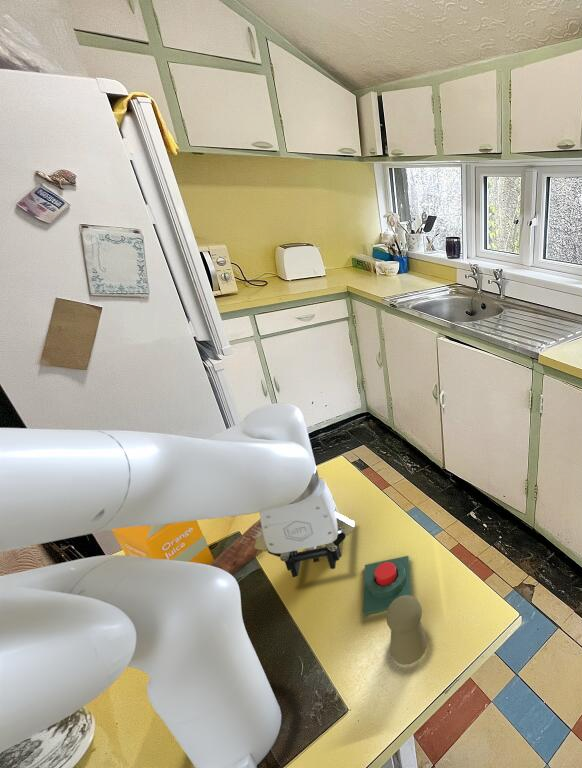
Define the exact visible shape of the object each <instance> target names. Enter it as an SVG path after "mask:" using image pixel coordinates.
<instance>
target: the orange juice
mask: <svg viewBox="0 0 582 768" xmlns="http://www.w3.org/2000/svg"><path fill="white" fill-rule="evenodd" d="M111 533H112V534H113V536H114V537H115V539H116V541H117V542H118V544H119V546H120V547H121V549H122V551H123V553H124V555H126V556H136V557H145V558H154V559H167V560H176V561H185V562H194V563H201V564H206V565H210V564H211V563H212V562H213V561H214V560H215V559H214V556H213V554H212V552H211V550H210V548H209V545H208V542H207V540H206V537H205V535H204V534H203V532H202V530H201V527H200V525H199V523H198V520H195V521H187V522H179V523H172V524H164V525H153V526H137V527H124V528H118V529H113V530H111Z"/></svg>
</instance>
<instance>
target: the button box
mask: <svg viewBox="0 0 582 768" xmlns="http://www.w3.org/2000/svg"><path fill="white" fill-rule="evenodd" d="M385 562H391V563H393V564H394V565H395V567H396V573H397V576H396V579H395V581H394V582H393V583H391V584H389V585H387V586H381V585H379V584H378V583H377V582H376V578H375V570H376V568H377V567H378V566H379V565H380V564H382V563H385ZM363 574H364V576H363V577H364V578H363V579H364V580H363V606H362V607H363V608H362V609H363V610H362V614H363V617H366V616H371V615H376V614H379V613H383V612H387V609H388V607H389V605H390V604H391V603H392V602H393V601H394V600H395V599H396V598H398V597H400V596H403V595H409V596H413V595H412V584H411V571H410V558H409V555H404V556H401V557H396V558H395V557H394V558H391V559H387V560H381V561H376V562H372V563H367V564H364V573H363Z"/></svg>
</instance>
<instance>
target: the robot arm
mask: <svg viewBox="0 0 582 768" xmlns="http://www.w3.org/2000/svg"><path fill="white" fill-rule="evenodd" d="M333 498H334V496H333V494H332V492H331V490H330V488H329V486H328V485H327V482H326V481H325V479H324V478H323V477H320V475H319V472H318V468H317V465H316V461H315V457H314V452H313V449H312V443H311V440H310V437H309V433H308V429H307V425H306V420H305V417H304V414H303V412H302V410H301V409H300V408H299V407H298V406H296V405H294V404H291V403H287V402H277V403H269V404H265V405H262V406H260V407H257V408H255V409H253V410H252V411H250V412H249V413H248V414H247V415H245V417H244V418H243V420H242V421H240V422H238V423H237V424H234V425H233V426H231V427H228V428H226V429H224V430H221V431H220V432H218V433H215V434H212V435H211V436H209V437H207V438H198V437H192V436H184V435H177V434H171V433H163V432H162V433H161V432H150V431H137V430H123V429H122V430H121V429H119V430H118V429H65V428H64V429H63V428H62V429H61V428H59V429H58V428H27V427H22V428H21V427H0V553H3V552H8V551H13V550H19V549H23V548H26V547H32V546H36V545H42V544H47V543H51V542H57V541H61V540H62V541H63V540H66V539H70V538H76V537H83V536H86V535H87V536H88V535H92V534H96V533H102V532H107V531H112V530H113V529H118V528H124V527H137V526H153V525H164V524H172V523H179V522H187V521H195V520H197V521H202V520H212V519H221V518H223V519H224V518H231V517H232V518H233V517H239V516H247V515H252V514H253V515H254V514H258V513H259V519H260V520H261V526H262V531H263V532H262V533H261V535H260V536H259V537H258V539H257V540H256V543H255V546H254V548H255V549H258V550H262V552H267V553H268V554H269V555H273V556H276V557H278V558H279V559H280V561H281V562H284V563H285V567H286V569H287V571H289V572H290V573H291V576H292V578H293V579H294V578H297V577H298V576H299V573H300V568H301V563H302V561H299V562H294V553H297V552H298V551H301V550H305V549H308V548H311V547H316V546H321V545H322V546H324V547H327V553H326V554H327V556H326V558H327V562H328V565H329V568H330V569H331V570H334V569H336V564H337V561H340V558H341V557H340V554H339V549H338V545H339V544H340V543H341V542H342V541H343V542H344V540H345V539H346V537H347V536H349V535H350V534H351V533H352V532H354V530H355V529H356V528H355V527H356V522H355V521H354V520H352V519H350V518H348V517H347V516H345V515H343V514H341V513H340V512H339V511H338V508H337V505H336V501H335V499H333ZM338 526H339V527H340V529H338ZM128 667H129V668H132V669H136V670H138V671H141V672H142V673H144V674H146V675H148V676H149V677H148V679H147V684H146V695H147V699H148V701H149V703H150V705H151V707H152V708H153V710H154V711H155V712H156V714H157V715H158V717H159V718H160V720H161V721H162V722H163V723H164V725H165V726H166V727H167V729H168V730H169V732H170V733H171V735H172V736H173V738H174V739H175V740H176V742H177V743H178V745H179V746H180V748H181V749H182V750H183V752H184V753H185V755H186V756H187V757H188V759H189V760H190V762H191V764H192V765H193V766H194V768H258V765H259V764H260V763H261V762H262V761H263V760H264V759H265V757H266V756H267V755H268V753H270V750H272V748H273V746H274V744H275V742H276V740H277V738H278V736H279V733H280V730H281V726H282V716H283V715H282V711H281V707H280V704H279V703H278V700H277V698H276V696H275V693H274V691H273V688H272V687H271V684H270V681H269V680H268V678H267V675H266V673H265V670H264V668H263V666H262V664H261V661H260V660H259V656H258V655H257V653H256V650H255V648H254V646H253V644H252V640H251V639H250V637H249V635H248V632H247V630H246V626H245V623H244V619H243V612H242V599H241V590H240V586H239V583H238V581H237V579H236V578H235V577H234V575H233V576H232V575H231V574H229V573H228V572H226V571H224V570H222V569H220V568H217V567H214V566H210V565H206V564H201V563H194V562H185V561H176V560H167V559H154V558H145V557H136V556H126V555H125V554H105V555H103V554H102V555H96V556H95V555H94V556H90V557H84V558H77V559H74V560H70V561H65V562H60V563H55V564H50V565H46V566H41V567H36V568H31V569H27V570H22V571H17V572H13V573H7V574H3V575H0V754H1V753H3V752H5V751H6V750H8V749H10V748H12V747H14V746H16V745H18V744H20V743H22V742H23V741H25V740H27V739H29V738H32V736H35V735H37V734H39V733H41V732H42V731H44V730H47V729H48V728H50V727H52V726H54V725H55V724H58V723H59V722H61V721H63V720H64V719H66V718H67V717H68V718H69V716H71V715H73V714H75V713H76V712H78V711H79V710H81V709H82V708H85V707H86V706H87V705H88V704H90V703H92V702H93V701H94V700H96V699H97V698H98V697H99V696H101V695H102V694H103V693H104V692H106V691H107V690H108V689H109V688H110V687H111V686H112V685H113V684H114V683H115V682H116V681H117V680H118V679H119V677H120V676H121V675H122V674H124V672H125V670H126V669H127V668H128Z"/></svg>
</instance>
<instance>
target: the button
mask: <svg viewBox="0 0 582 768" xmlns="http://www.w3.org/2000/svg"><path fill="white" fill-rule="evenodd" d="M396 576H397V573H396V567H395V565H394V564H393V563H391V562H385V563H382V564H380V565H379V566H378V567H377V568H376V570H375V578H376V582H377V583H378V584H379V585H381V586H387V585H389V584H391V583H393V582H394V581H395V579H396Z"/></svg>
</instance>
